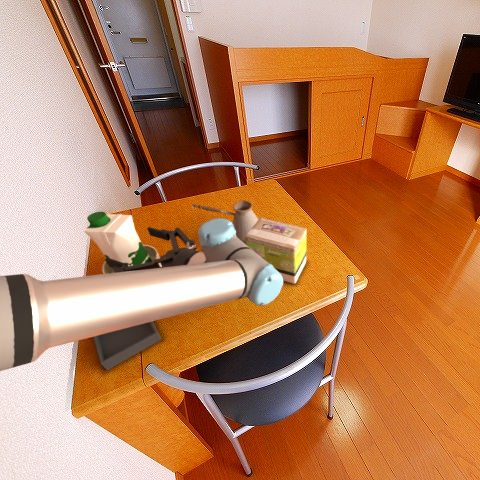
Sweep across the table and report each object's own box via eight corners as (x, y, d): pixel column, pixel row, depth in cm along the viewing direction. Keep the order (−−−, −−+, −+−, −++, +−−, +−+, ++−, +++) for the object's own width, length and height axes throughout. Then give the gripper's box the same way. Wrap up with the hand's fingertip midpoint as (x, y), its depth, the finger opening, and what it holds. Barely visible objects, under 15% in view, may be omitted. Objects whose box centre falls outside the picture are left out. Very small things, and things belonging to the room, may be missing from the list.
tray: (107, 370, 61) (100, 364, 59) (96, 334, 67) (90, 327, 65) (161, 339, 67) (157, 332, 65) (147, 308, 73) (142, 302, 71)
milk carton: (129, 259, 86) (98, 206, 73) (158, 260, 86) (132, 207, 73) (112, 280, 80) (75, 226, 67) (144, 281, 80) (112, 227, 67)
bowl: (116, 297, 76) (108, 287, 73) (104, 268, 83) (97, 258, 81) (169, 273, 83) (164, 263, 80) (154, 249, 91) (149, 238, 88)
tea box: (249, 272, 84) (242, 235, 75) (264, 251, 91) (260, 215, 82) (295, 285, 81) (294, 248, 71) (307, 262, 88) (307, 226, 79)
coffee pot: (263, 224, 103) (259, 189, 93) (265, 245, 94) (260, 208, 84) (203, 230, 99) (192, 194, 89) (199, 252, 90) (187, 215, 81)
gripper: (164, 313, 64) (95, 287, 68) (226, 246, 82) (167, 230, 87) (152, 292, 59) (79, 267, 64) (221, 226, 77) (159, 210, 82)
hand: (130, 245), depth 75 cm, fingers open, 13 cm apart
